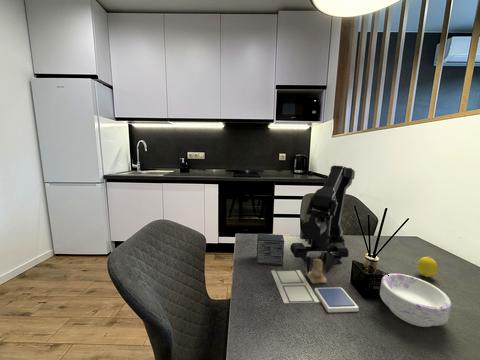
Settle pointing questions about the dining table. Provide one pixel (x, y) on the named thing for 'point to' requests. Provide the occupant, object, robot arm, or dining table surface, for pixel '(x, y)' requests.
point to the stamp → (317, 273)
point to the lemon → (427, 266)
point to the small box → (270, 249)
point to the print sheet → (294, 287)
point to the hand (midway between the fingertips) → (316, 272)
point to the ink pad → (336, 300)
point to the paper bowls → (415, 300)
